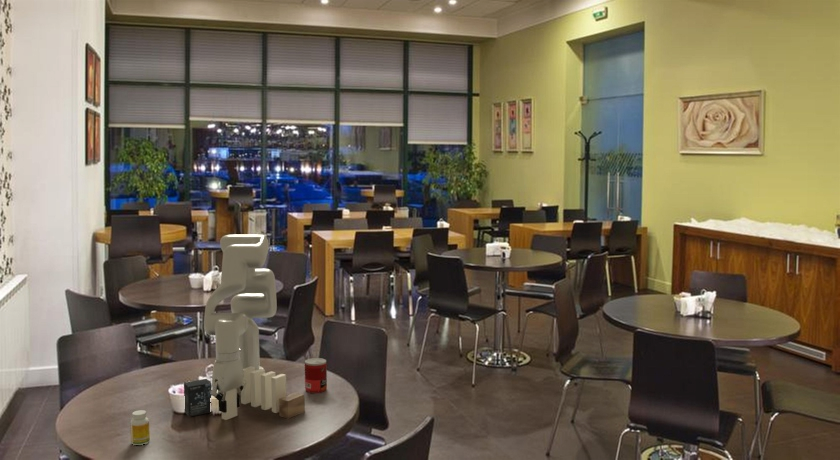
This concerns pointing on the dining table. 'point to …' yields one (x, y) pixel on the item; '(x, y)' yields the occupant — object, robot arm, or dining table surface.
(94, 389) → the dining table surface
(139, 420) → the supplement bottle
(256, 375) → the domino
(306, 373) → the canned food
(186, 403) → the box
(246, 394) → the domino
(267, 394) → the domino
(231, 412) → the domino
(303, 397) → the end block
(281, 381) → the domino
